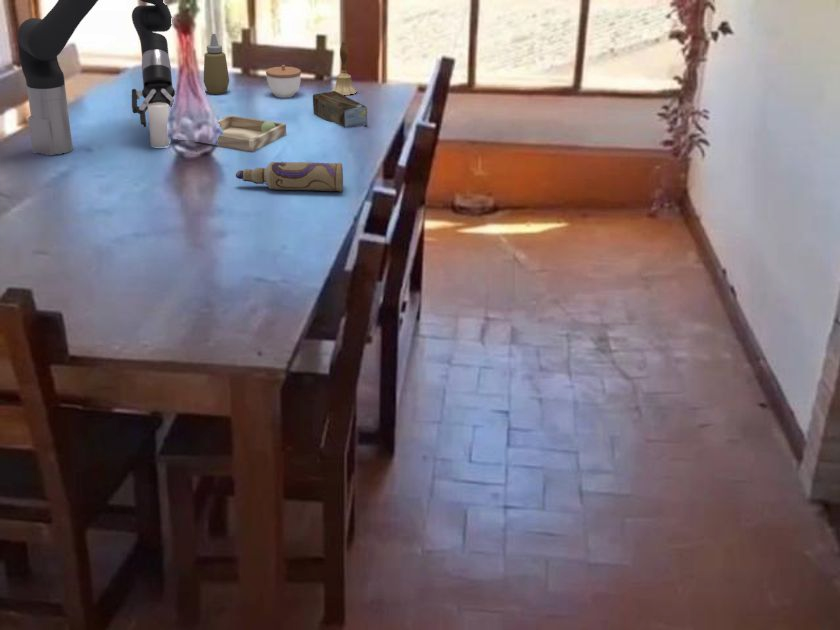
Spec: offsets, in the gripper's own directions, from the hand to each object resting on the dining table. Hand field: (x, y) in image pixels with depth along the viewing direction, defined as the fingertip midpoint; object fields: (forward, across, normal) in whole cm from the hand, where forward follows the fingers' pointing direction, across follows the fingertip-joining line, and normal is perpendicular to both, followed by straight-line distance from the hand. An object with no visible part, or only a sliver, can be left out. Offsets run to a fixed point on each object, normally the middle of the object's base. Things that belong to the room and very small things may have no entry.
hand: (161, 124), depth 280 cm
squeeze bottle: (-34, -18, -42) cm, 57 cm away
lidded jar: (-29, -38, -38) cm, 61 cm away
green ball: (+1, -28, -6) cm, 29 cm away
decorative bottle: (+31, -30, +22) cm, 49 cm away
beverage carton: (-8, -51, -18) cm, 54 cm away
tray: (+3, -21, -6) cm, 22 cm away
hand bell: (-30, -57, -39) cm, 75 cm away
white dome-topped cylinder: (+4, 0, -4) cm, 6 cm away
